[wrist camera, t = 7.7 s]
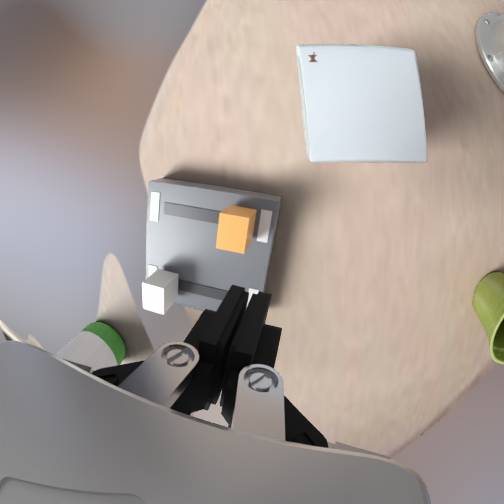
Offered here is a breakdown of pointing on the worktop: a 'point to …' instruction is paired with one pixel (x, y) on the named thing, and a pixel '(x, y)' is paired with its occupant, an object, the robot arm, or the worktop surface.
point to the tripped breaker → (235, 228)
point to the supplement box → (361, 104)
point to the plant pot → (492, 311)
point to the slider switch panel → (206, 240)
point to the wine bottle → (95, 347)
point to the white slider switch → (160, 291)
